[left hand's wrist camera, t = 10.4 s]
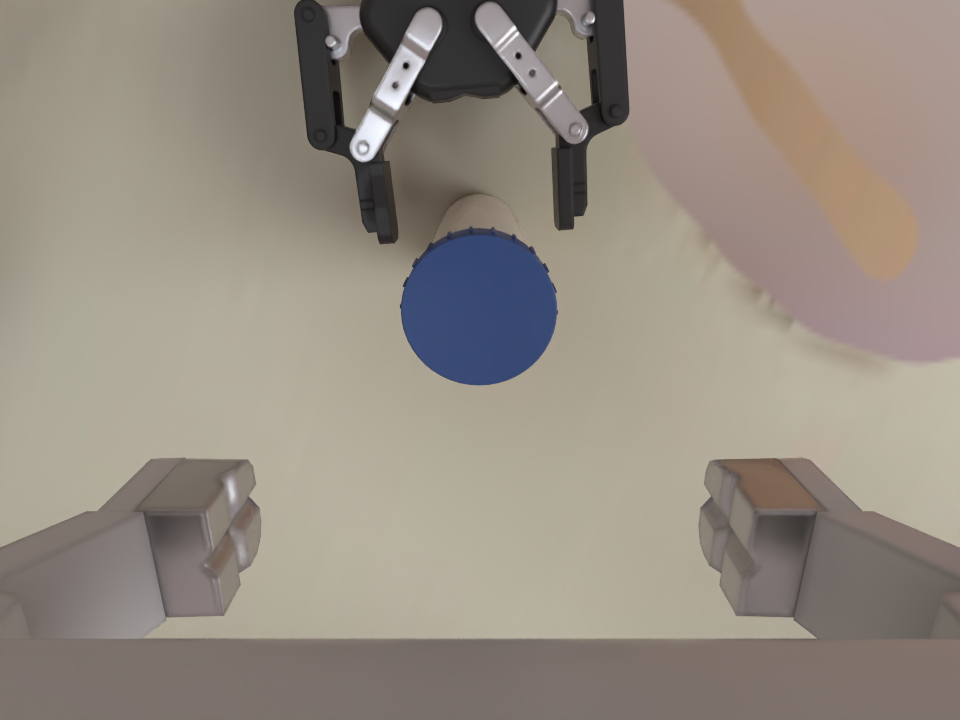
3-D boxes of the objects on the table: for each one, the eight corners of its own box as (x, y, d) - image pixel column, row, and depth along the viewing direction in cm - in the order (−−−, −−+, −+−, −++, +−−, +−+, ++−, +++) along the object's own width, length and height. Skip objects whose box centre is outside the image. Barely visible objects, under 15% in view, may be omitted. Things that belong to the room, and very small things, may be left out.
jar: (501, 181, 36) (518, 218, 20) (530, 256, 37) (567, 345, 21) (426, 212, 36) (387, 272, 20) (458, 285, 38) (443, 393, 22)
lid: (521, 200, 21) (524, 205, 19) (574, 340, 22) (580, 355, 21) (379, 260, 21) (371, 269, 20) (440, 391, 23) (438, 409, 22)
